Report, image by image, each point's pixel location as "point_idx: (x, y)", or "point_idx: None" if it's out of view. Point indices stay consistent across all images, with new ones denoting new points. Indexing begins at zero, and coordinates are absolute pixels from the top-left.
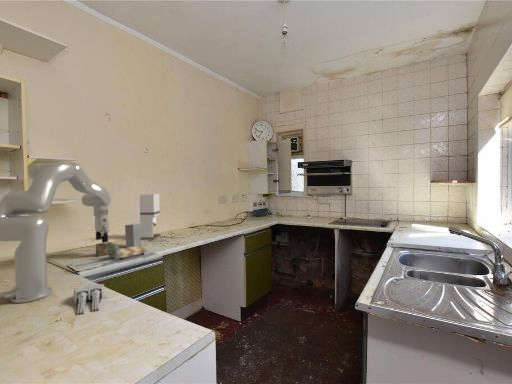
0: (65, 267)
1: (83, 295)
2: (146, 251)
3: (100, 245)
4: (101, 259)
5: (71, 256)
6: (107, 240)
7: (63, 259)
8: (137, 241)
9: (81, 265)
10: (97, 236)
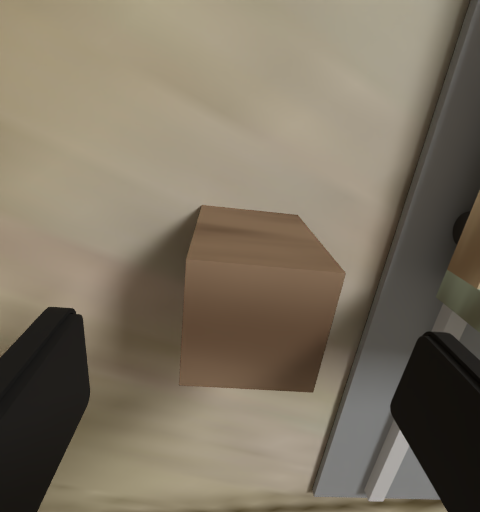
0: (336, 499)
1: None
2: None
3: (316, 368)
4: None
5: None
6: (457, 356)
7: (112, 465)
8: None
9: (416, 460)
10: (52, 460)
